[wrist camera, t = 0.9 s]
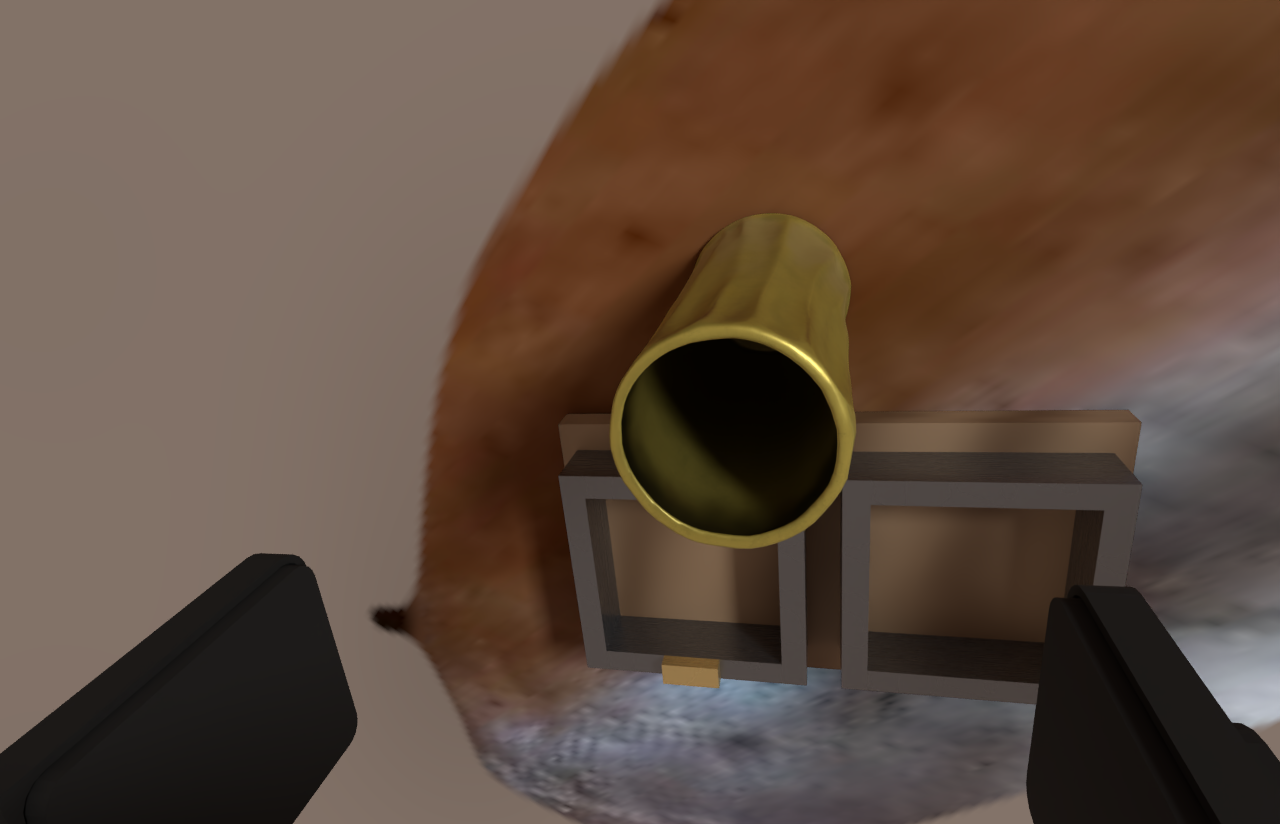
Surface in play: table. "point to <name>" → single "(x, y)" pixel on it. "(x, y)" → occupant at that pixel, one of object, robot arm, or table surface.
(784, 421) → the vase
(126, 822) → the robot arm
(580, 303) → the table surface
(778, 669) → the two-cubby wall shelf
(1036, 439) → the board
